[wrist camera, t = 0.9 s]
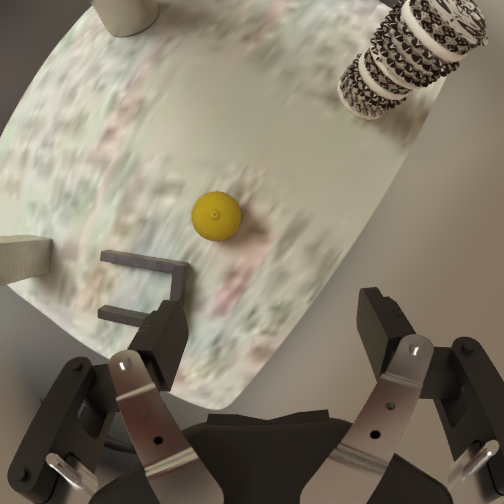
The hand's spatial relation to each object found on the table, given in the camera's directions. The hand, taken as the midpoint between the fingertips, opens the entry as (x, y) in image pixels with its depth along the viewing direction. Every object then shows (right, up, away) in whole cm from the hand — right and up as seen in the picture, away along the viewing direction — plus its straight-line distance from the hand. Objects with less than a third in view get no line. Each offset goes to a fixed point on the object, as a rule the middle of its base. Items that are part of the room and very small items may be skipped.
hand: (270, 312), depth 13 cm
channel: (-16, -2, +24) cm, 28 cm away
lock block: (-33, +2, +22) cm, 40 cm away
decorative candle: (+16, +26, +24) cm, 39 cm away
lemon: (-5, +7, +24) cm, 25 cm away
